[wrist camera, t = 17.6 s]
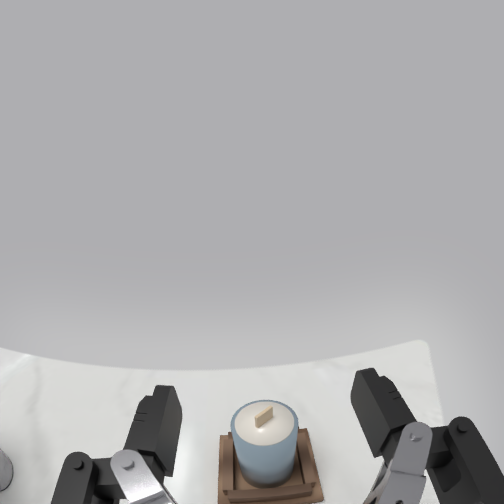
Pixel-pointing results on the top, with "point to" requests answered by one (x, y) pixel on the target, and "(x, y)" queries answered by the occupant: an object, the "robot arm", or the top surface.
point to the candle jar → (265, 442)
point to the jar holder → (269, 499)
